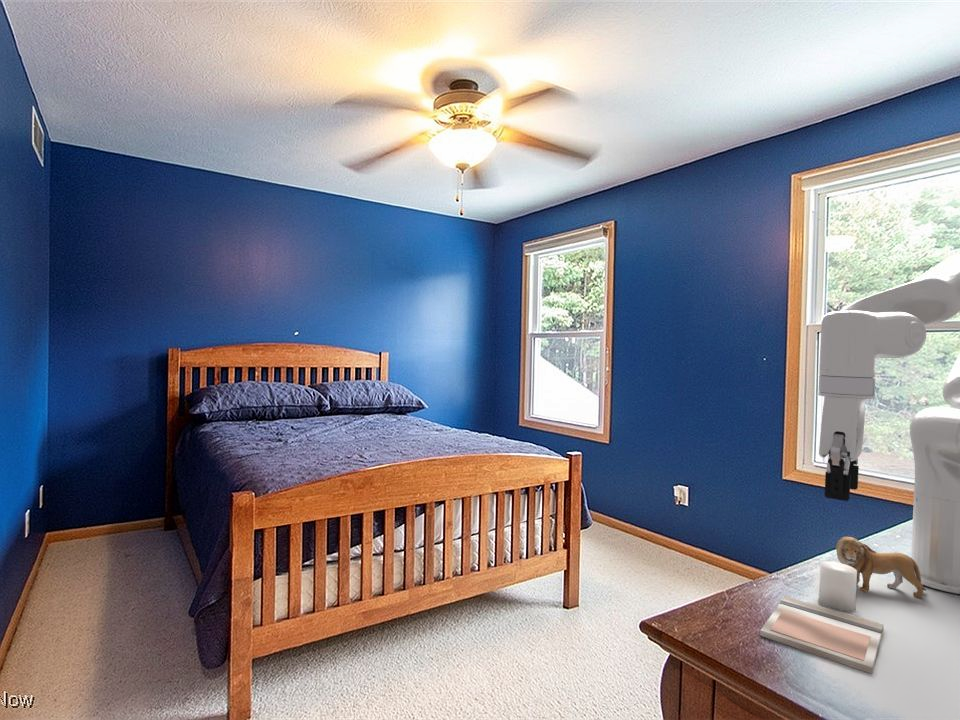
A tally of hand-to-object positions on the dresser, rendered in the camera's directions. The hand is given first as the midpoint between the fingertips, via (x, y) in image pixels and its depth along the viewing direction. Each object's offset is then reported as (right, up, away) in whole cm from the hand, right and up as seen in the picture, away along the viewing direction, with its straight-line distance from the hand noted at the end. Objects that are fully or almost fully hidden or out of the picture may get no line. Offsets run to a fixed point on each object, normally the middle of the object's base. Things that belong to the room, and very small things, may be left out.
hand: (841, 493), depth 87 cm
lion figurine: (+10, -19, +6) cm, 22 cm away
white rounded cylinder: (0, -18, 0) cm, 18 cm away
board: (-9, -18, -9) cm, 22 cm away
